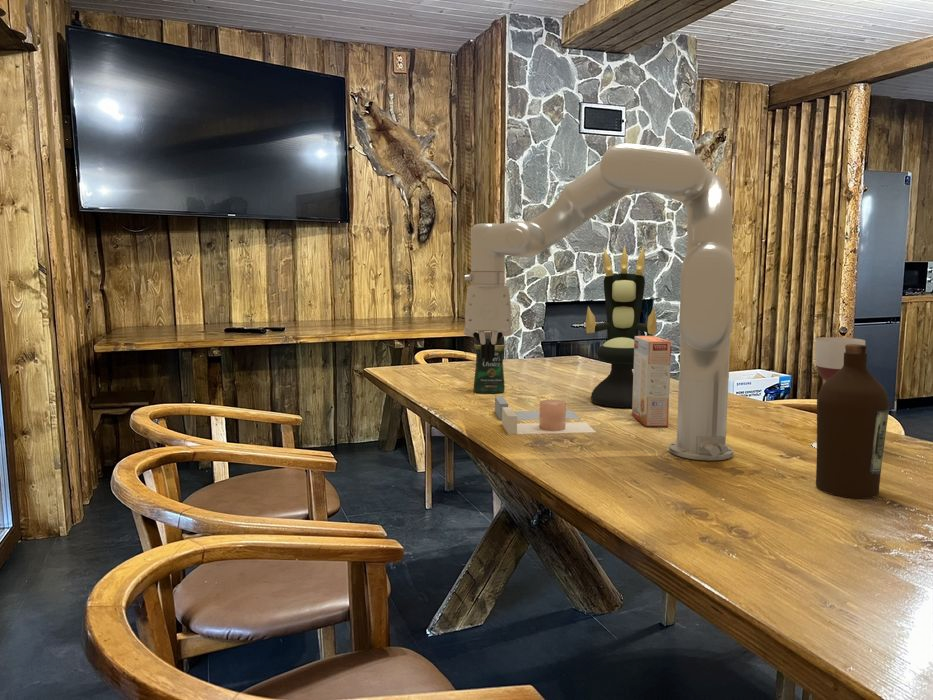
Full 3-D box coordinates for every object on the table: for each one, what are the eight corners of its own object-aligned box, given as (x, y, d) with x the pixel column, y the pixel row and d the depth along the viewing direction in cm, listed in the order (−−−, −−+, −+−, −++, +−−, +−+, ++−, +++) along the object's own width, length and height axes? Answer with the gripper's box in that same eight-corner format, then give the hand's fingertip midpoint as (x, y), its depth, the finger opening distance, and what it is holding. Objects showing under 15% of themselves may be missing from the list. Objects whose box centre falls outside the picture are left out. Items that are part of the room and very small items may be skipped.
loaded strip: (596, 437, 152) (596, 414, 152) (508, 439, 151) (508, 416, 150) (585, 427, 162) (585, 405, 161) (502, 428, 160) (502, 407, 160)
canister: (568, 430, 154) (568, 404, 153) (542, 431, 153) (542, 405, 152) (562, 424, 159) (562, 399, 159) (537, 425, 159) (537, 399, 158)
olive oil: (806, 492, 115) (815, 346, 112) (817, 476, 124) (825, 340, 121) (879, 504, 109) (891, 350, 106) (885, 487, 118) (895, 344, 115)
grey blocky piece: (581, 423, 166) (581, 402, 165) (499, 425, 164) (499, 404, 164) (571, 414, 176) (571, 395, 175) (494, 416, 174) (494, 396, 174)
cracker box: (669, 427, 162) (672, 340, 160) (644, 427, 163) (647, 340, 160) (654, 415, 176) (656, 335, 174) (631, 415, 176) (633, 335, 174)
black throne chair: (583, 407, 186) (586, 241, 180) (588, 393, 207) (591, 244, 202) (654, 411, 181) (659, 240, 176) (652, 396, 203) (657, 243, 197)
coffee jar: (474, 394, 206) (474, 333, 204) (473, 389, 214) (473, 331, 212) (506, 394, 207) (506, 333, 204) (503, 389, 214) (504, 331, 212)
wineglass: (812, 451, 141) (818, 341, 138) (806, 439, 150) (812, 336, 148) (862, 455, 138) (870, 342, 135) (853, 443, 147) (860, 338, 145)
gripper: (455, 280, 147) (455, 364, 149) (523, 280, 148) (523, 363, 150) (453, 279, 154) (453, 359, 156) (518, 279, 155) (517, 359, 158)
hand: (487, 361), depth 153 cm, fingers closed
